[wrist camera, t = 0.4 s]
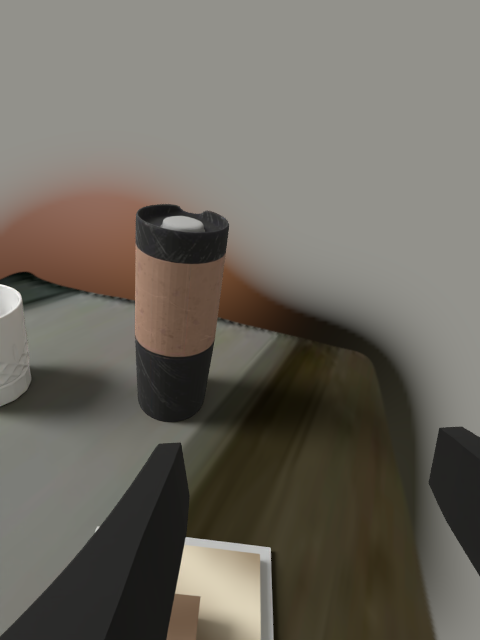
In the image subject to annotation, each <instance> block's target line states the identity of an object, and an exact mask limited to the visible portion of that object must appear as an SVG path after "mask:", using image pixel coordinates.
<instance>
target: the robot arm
mask: <svg viewBox="0 0 480 640" xmlns="http://www.w3.org/2000/svg"><path fill="white" fill-rule="evenodd" d="M429 485H430V487H431V489H432V491H433V493H434V496H435V498H436V501H437V503H438V505H439V507H440V509H441V511H442V513H443V515H444V517H445V519H446V521H447V523H448V524H449V526H450V528H451V530H452V531H453V533H454V535H455V536H456V538H457V540H458V541H459V543H460V545H461V546H462V547H463V550H464V551H465V553H466V554H467V556H468V557H469V559H470V561H471V563H472V564H473V566H474V568H475V569H476V571H477V572H478V574H479V576H480V437H478V436H476V435H475V434H473V433H472V432H470V431H468V430H466V429H465V428H463V427H446V428H439V433H438V438H437V443H436V448H435V454H434V459H433V463H432V468H431V474H430V479H429ZM188 508H189V490H188V484H187V477H186V471H185V465H184V459H183V453H182V446H181V443H165V444H159V445H158V446H157V447H156V448H155V450H154V451H153V453H152V454H151V456H150V457H149V459H148V460H147V462H146V463H145V465H144V467H143V468H142V470H141V471H140V472H139V474H138V475H137V477H136V478H135V480H134V481H133V483H132V484H131V486H130V487H129V488H128V490H127V491H126V493H125V494H124V495H123V497H122V498H121V499H120V501H119V502H118V504H117V505H116V506H115V508H114V509H113V510H112V512H111V513H110V514H109V516H108V517H107V518H106V520H105V521H104V522H103V523H102V525H101V526H100V527H99V528H98V530H97V531H96V532H95V533H94V535H93V536H92V537H91V538H90V540H89V541H88V542H87V543H86V545H85V546H84V547H83V548H82V550H81V551H80V552H79V553H78V554H77V555H76V557H75V558H74V559H73V560H72V561H71V562H70V564H69V565H68V566H67V567H66V568H65V569H64V570H63V572H62V573H61V574H60V575H59V576H58V577H57V578H56V579H55V580H54V582H53V583H52V584H51V585H50V586H49V587H48V588H47V589H46V590H45V591H44V592H43V593H42V595H41V596H40V597H39V598H38V599H37V600H36V601H35V602H34V603H33V604H32V605H31V606H30V607H29V608H28V609H27V610H26V611H25V612H24V613H23V614H22V615H21V616H20V617H19V618H18V619H17V620H16V621H15V622H14V623H13V624H12V625H11V626H10V627H9V628H8V629H7V630H6V631H5V632H4V633H3V634H2V635H1V636H0V640H166V639H167V633H168V628H169V622H170V617H171V612H172V607H173V602H174V596H175V591H176V586H177V581H178V576H179V570H180V565H181V560H182V554H183V549H184V544H185V538H186V531H187V520H188Z"/></svg>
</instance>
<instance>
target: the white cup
mask: <svg viewBox="0 0 480 640" xmlns="http://www.w3.org/2000/svg"><path fill="white" fill-rule="evenodd" d="M30 382H31V372H30V366H29V349H28V339H27V332H26V325H25V318H24V310H23V303H22V297H21V294H20V293H19V292H18V291H17V290H15V289H13V288H11V287H8V286H5V285H1V284H0V406H3V405H5V404H7V403H9V402H12V401H14V400H16V399H17V398H18V397H19V396H21V395H22V394H23V393H24V392H25V391H27V389H28V387H29V384H30Z"/></svg>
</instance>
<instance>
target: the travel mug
mask: <svg viewBox="0 0 480 640" xmlns="http://www.w3.org/2000/svg"><path fill="white" fill-rule="evenodd" d="M228 230H229V224H228V221H227V220H226V219H225V218H224V217H222V216H221V215H219V214H217V213H214V212H211V211H205V212H203V213H201V214H193V213H188V212H185V211H183V210H182V209H181V208H180V207H179V206H177V205H171V204H162V205H161V204H160V205H151V206H146V207H143V208H141V209H139V210H138V212H137V214H136V275H135V276H136V279H135V280H136V281H135V284H136V285H135V291H136V292H135V343H136V365H137V387H138V400H139V404H140V406H141V408H142V410H143V411H144V412H145V413H146V414H147V415H149V416H150V417H152V418H154V419H157V420H161V421H167V422H174V421H181V420H184V419H187V418H189V417H191V416H193V415H194V414H195V413H196V412H197V411H198V410H199V409H200V408H201V406H202V404H203V400H204V396H205V391H206V385H207V379H208V374H209V368H210V363H211V357H212V351H213V346H214V339H215V333H216V325H217V317H218V309H219V301H220V293H221V285H222V277H223V270H224V262H225V253H226V246H227V238H228Z"/></svg>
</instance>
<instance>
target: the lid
mask: <svg viewBox="0 0 480 640" xmlns="http://www.w3.org/2000/svg"><path fill="white" fill-rule="evenodd" d="M166 640H261V612H260V554H256V553H248V552H240V551H231V550H223V549H215V548H207V547H199V546H190V545H184V549H183V554H182V560H181V565H180V570H179V576H178V581H177V586H176V591H175V596H174V602H173V607H172V612H171V617H170V622H169V628H168V633H167V639H166Z"/></svg>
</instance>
